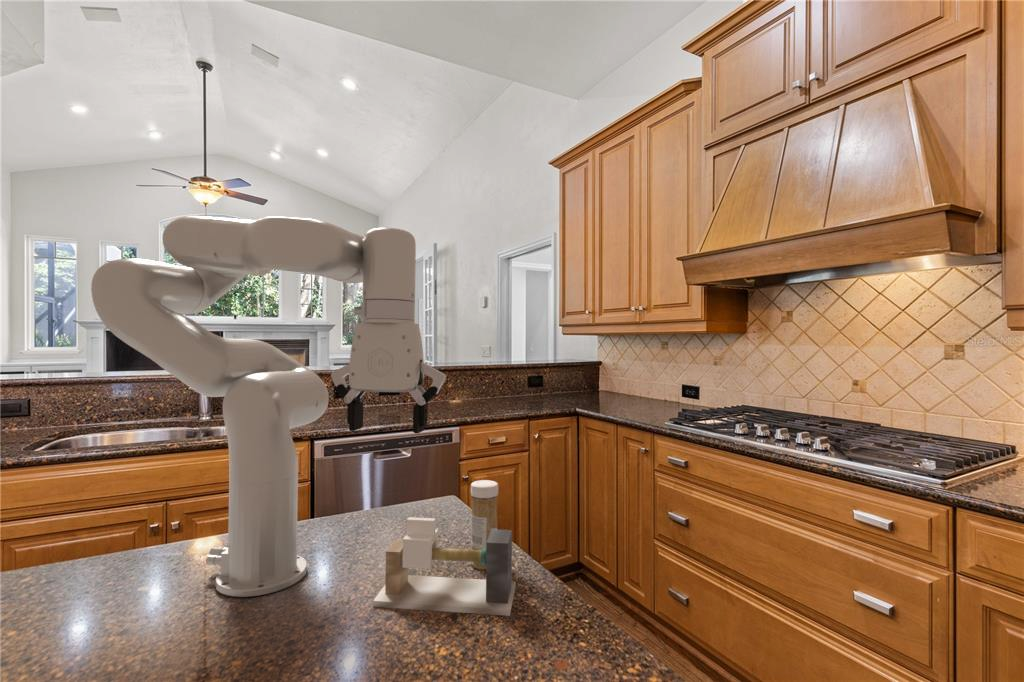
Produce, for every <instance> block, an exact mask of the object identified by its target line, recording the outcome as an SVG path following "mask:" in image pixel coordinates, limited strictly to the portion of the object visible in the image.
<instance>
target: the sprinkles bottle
mask: <svg viewBox="0 0 1024 682" xmlns="http://www.w3.org/2000/svg"><path fill="white" fill-rule="evenodd" d="M470 495H471V497H470V498H471V513H470V545H471V550H482V548H486V542H487V540H488V537H489V535H490V532H491V530H492V529H498V495H499V483H498V482H497V481H494V480H489V479H481V480H480V479H479V480H475V481H473V482H472V483H470ZM470 565H471V566H472V567H473V568H474V569H478V570H486V565H481V562H470Z"/></svg>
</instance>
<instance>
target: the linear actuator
mask: <svg viewBox="0 0 1024 682" xmlns="http://www.w3.org/2000/svg"><path fill="white" fill-rule="evenodd" d="M512 544H513V530H512V529H499V528H497V529H492V530H491V532H490V535H489V537H488V540H487V542H486V548H482V550H472V549H467V548H466V549H465V548H464V549H463V548H450V547H449V548H448V547H445V548H444V547H438V548H432V561H433V560H434V561H450V562H451V561H453V562H468V563H471V562H481V565H486V569H485V570H486V571H485V572H486V573H485V579H482V578H481V579H476V578H463V577H448V576H447V577H446V576H444V577H443V576H429V575H428V576H427V575H414V574H413V575H412V574H409V568H403V540H394V541H393V542H392V543H391V545H390V546H389V547H388V548H387V550H386V551H385V583H384V584H385V585H384V586H382V588H381V590H380V591H379V592H378V594H377V595H376V596H375V597H374V599H373V600H372V607H374V608H375V607H376V608H387V609H403V610H418V611H429V612H431V611H434V612H447V613H463V614H478V615H479V614H480V615H490V616H491V615H492V616H507V617H510V616H511V612H512V608H513V602H514V597H515V591H516V588H517V581H514V580H513V581H512V577H513V576H512V573H513V572H512V571H513V569H512V566H513V565H512V562H513V561H512V555H513V552H512V551H513V550H512V549H513V545H512Z"/></svg>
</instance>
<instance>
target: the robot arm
mask: <svg viewBox="0 0 1024 682" xmlns="http://www.w3.org/2000/svg"><path fill="white" fill-rule="evenodd" d="M162 244H163V245H162V246H163V247H164V249H165V251H166V253H167V254H168V256H169V257H171V259H173V260H174V261H175V262H176V263H178V264H179V265H176V264H171V263H167V262H163V261H155V260H151V259H145V258H129V257H128V258H118V259H114V260H113V259H112V260H110V261H108V262H105V263H104V264H102V265H100V267H98V268H97V270H96V271H95V272H94V274H93V277H92V280H91V289H90V291H91V297H92V303H93V305H94V309H95V311H96V314H97V315H98V317H99V318H100V320H101V322H102V323H103V325H104V326H105V327H106V328H107V329H108V331H109V332H110V333H112V334H113V335H114V336H115V337H116V338H118V339H119V340H121V341H122V342H123V343H125V344H126V345H128V346H129V347H131V348H133V349H134V350H135V351H137V352H139V353H140V354H142V355H143V356H145V357H147V358H148V359H150V360H151V361H153V362H154V363H155V364H157V365H158V366H159V367H160V368H161V369H163V370H164V371H166V372H167V373H169V374H170V375H172V376H173V377H174V378H176V379H177V380H179V381H180V382H182V383H183V384H184V385H186V386H187V387H189V388H190V389H191V390H193V391H194V392H196V393H198V394H200V395H202V396H203V397H209V398H210V397H211V398H218V397H219V398H220V397H222V398H223V397H224V398H223V400H222V417H223V423H224V427H225V432H226V436H227V437H226V438H227V444H228V467H229V469H228V523H227V524H228V528H227V530H228V531H227V532H228V536H227V546H226V545H225V546H224V545H214V546H212V547H211V548H210V550H209V553H208V555H207V557H206V559H205V564H206V565H213V566H216V565H219V566H220V572H219V573H218V574H217V575H216V578H215V585H214V587H215V589H216V591H218V593H220V594H222V595H225V596H229V597H236V598H237V597H238V598H251V597H257V596H263V595H268V594H272V593H275V592H279V591H282V590H284V589H286V588H289V587H291V586H292V585H294V584H296V583H298V582H299V581H300V580H302V579H303V578H304V577H305V575H306V574H307V572H308V562H307V560H306V559H305V558H304V557H303V556H301V555H298V502H299V498H298V497H299V494H298V493H299V492H298V491H299V489H298V488H299V459H298V450H297V447H296V444H295V442H294V440H293V437H292V434H291V429H296V428H299V427H303V426H306V425H308V424H311V423H314V422H316V421H317V420H319V418H322V416H323V414H325V412H326V410H327V408H328V405H329V398H330V397H329V391H328V388H327V386H326V383H325V382H324V380H323V379H322V378H321V377H320V376H319V375H318V374H316V372H314V371H312V370H311V369H310V368H308V367H307V366H305V365H304V364H303V363H300V362H299V361H297V360H296V359H295V358H294V357H291V356H290V355H288V354H287V353H285V352H284V351H282V350H281V349H279V348H277V347H276V346H274V345H272V344H270V343H268V342H265V341H262V340H260V339H259V340H258V339H254V338H253V339H252V338H233V337H232V338H230V337H223V336H219V335H218V334H215V333H213V332H211V331H210V330H208V329H206V328H205V327H203V326H202V325H201V324H199V323H198V322H197V321H195V320H193V319H192V318H190V317H187V316H185V315H195V314H199V313H201V312H203V311H205V310H207V309H208V308H209V307H211V306H213V305H215V303H216V302H217V301H218V300H220V299H221V298H222V297H223V296H224V295H225V294H226V293H227V292H229V291H230V290H232V288H234V287H235V286H236V285H237V284H238V283H240V282H241V281H242V280H243V279H244V278H245V277H246V276H247V275H249V276H257V277H258V276H265V275H267V274H269V273H271V272H272V271H273V270H274V271H282V272H283V271H286V272H294V273H295V272H296V273H301V274H308V275H314V276H318V277H319V276H320V277H323V278H326V279H331V280H335V281H338V282H342V283H346V284H360V283H362V301H361V302H360V303H361V304H360V305H359V306H355V307H354V308H353V314H354V316H359V317H360V319H361V321H362V322H356V324H355V327H354V330H353V337H352V342H351V347H350V348H351V349H350V356H349V357H350V358H349V363H348V364H345V365H344V366H342V367H340V368H338V369H336V370H334V371H332V372H331V373H330V377H331V379H332V382H333V384H334V386H335V388H336V389H335V390H336V392H338V394H339V395H340V396H341V397H342V398H343V401H344V403H345V404H347V408H346V409H347V415H346V416H347V419H346V421H347V422H346V423H347V424H348V430H349V432H354V431H358V430H361V429H363V426H364V403H363V401H361V399H362V398H363V396H364V394H365V393H367V392H368V393H369V392H370V393H371V392H372V393H409V395H410V396H411V397H412V398H413V399H414V401H415V405H414V406H412V407H413V408H412V409H413V410H412V411H413V412H412V413H413V414H412V432H413V433H414V434H420V433H422V432H424V431H425V427H427V426H428V416H429V415H428V414H429V413H428V404H430V402H431V401H432V400H433V399H434V398H435V397H436V396H437V395H438V394H439V392H440V390H441V388H442V387H443V385H444V383H445V381H446V379H447V376H446V374H445V373H444V372H442V371H440V370H438V369H437V368H434V367H433V366H432V365H429V364H427V363H426V362H424V361H425V359H424V348H423V341H422V335H421V334H422V333H421V330H420V325H419V323H415V320H416V319H415V317H416V313H415V312H416V311H415V310H416V303H415V302H416V254H417V253H416V251H417V250H416V249H417V247H416V246H417V245H416V239H415V236H414V235H413V234H412V233H411V232H410V231H407V230H405V229H401V228H395V227H377V228H372V229H368V231H367V232H366V233H365V234H364V236H363V235H360V234H357V233H354V232H351V231H348V230H347V229H344V228H342V227H341V226H338V225H335V224H332V223H330V222H327V221H323V220H321V219H313V218H304V217H303V218H302V217H291V216H290V217H289V216H273V215H271V216H266V217H262V218H258V219H256V220H254V219H253V220H252V219H243V218H241V219H240V218H239V219H238V218H228V217H216V216H215V217H213V216H204V215H202V216H201V215H187V216H182V217H179V218H176V219H173V220H172V221H170V223H168V224H167V225H166V226H165V228H164V230H163V232H162ZM347 376H348V384H347V381H346V377H347ZM425 376H427V377H429V378H431V379H432V383H431V385H430V387H428V388H427V390H425V388H424V387H423V386H424V383H425V382H424V381H425Z"/></svg>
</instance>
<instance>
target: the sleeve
mask: <svg viewBox="0 0 1024 682" xmlns="http://www.w3.org/2000/svg"><path fill="white" fill-rule="evenodd" d="M436 521H437V520H436V518H434V517H417V516H416V517H413V516H412V517H411V516H408V517H407V518H406V535H405V536H404V537H403V538H402V541H403V568H408V569H419V570H420V569H421V570H431V569H432V567H433V560H432V548H439V529H438V528H437V529H436V523H437V522H436Z"/></svg>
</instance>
